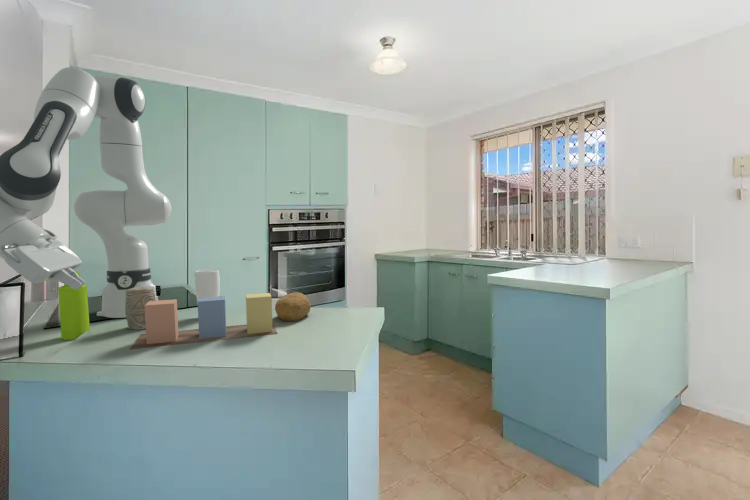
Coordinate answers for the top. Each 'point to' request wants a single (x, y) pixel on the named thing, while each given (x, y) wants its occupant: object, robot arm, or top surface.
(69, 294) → the soap dispenser
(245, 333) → the walnut board
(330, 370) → the top surface
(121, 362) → the top surface
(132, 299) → the carving
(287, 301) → the potato
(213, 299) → the slate block
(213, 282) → the white rectangular block
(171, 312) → the terracotta block
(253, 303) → the ochre block
